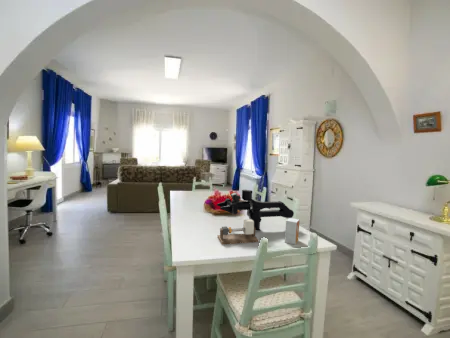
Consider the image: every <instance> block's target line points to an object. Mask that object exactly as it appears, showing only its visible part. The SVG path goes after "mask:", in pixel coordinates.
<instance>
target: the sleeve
mask: <svg viewBox="0 0 450 338" xmlns="http://www.w3.org/2000/svg"><path fill="white" fill-rule="evenodd" d="M242 228H245V231H242V232H243V234H254V221H253V220H252V219H249V218H247V219H243V227H242Z"/></svg>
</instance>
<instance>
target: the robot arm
mask: <svg viewBox="0 0 450 338" xmlns="http://www.w3.org/2000/svg"><path fill="white" fill-rule="evenodd" d="M230 196H231V199H230V198H225V200H224V201H222V202H219V203H217V204H216V206H218V207H220V208H219V209H220V210H221V211H222V210H223V211H225V212H228V213H230V214H232V215H237V214H238V212H241V211H247V212H246V215H247V217H248V219H252V220H253V221H254V227H255V228H256V232H259V231H262V229H261V221H262V218H269V217H270V218H271V217H272V218H273V217H275V218H276V217H283V218H286V219H289V218H293V217H294V214H295V212H294V211H293V209H290V208H289V207H288V206H287V205H286V204H285V203H284V202H282V200H281V201H280V200H279V201H260V200H255V199H253V190H250V189H241V196H240V195H239V194H237V192H233V193H230ZM240 199H242V200H243V201H241V200H240ZM276 208H277V209H276ZM265 209H269V210H265ZM273 209H274V210H273Z"/></svg>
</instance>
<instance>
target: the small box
mask: <svg viewBox="0 0 450 338" xmlns="http://www.w3.org/2000/svg"><path fill="white" fill-rule="evenodd" d="M286 219H287V220H285V232H284V233H285V235H284V237H285V238H284V243H285V244H290V245H297V243H298V241H299V235H300V233H299V231H300V219H299V218H293V217H292V218H286Z"/></svg>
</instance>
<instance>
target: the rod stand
mask: <svg viewBox="0 0 450 338" xmlns="http://www.w3.org/2000/svg"><path fill="white" fill-rule="evenodd" d="M243 231H245V228H243V227H242V228H241V227H239V228H232V227H230V226H221V228H219V234H217V237H216V238H217V240H218V241H219V242H220V244H221V245H222V246H223V245H224V246H225V245H235V244H239V245H240V244H250V243H251V244H253V243H259V241H260V240H259V239H260V238H257V236H256V233H257V231H256V228H255V227H254V234H245V233H232V232H243Z"/></svg>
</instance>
